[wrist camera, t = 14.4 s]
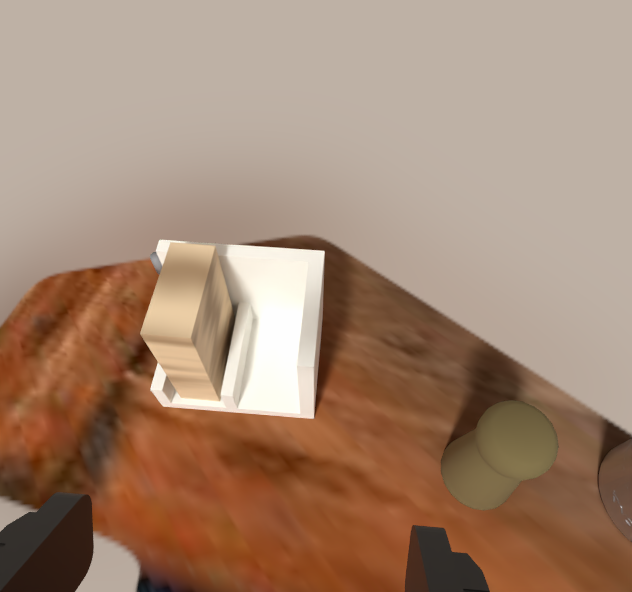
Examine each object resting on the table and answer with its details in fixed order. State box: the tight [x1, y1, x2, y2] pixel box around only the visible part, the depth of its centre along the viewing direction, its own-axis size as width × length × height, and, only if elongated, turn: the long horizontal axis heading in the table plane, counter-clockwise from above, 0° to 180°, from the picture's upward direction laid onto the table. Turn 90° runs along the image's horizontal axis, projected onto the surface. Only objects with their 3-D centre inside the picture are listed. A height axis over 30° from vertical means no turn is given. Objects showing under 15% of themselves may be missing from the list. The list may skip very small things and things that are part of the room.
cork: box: [441, 400, 558, 510], centre depth 36 cm, size 6×6×11 cm
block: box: [140, 242, 236, 402], centre depth 40 cm, size 8×4×12 cm, turn 174°
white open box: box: [150, 240, 325, 419], centre depth 41 cm, size 10×15×11 cm
